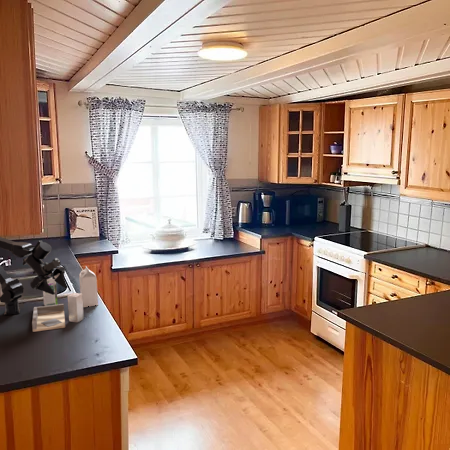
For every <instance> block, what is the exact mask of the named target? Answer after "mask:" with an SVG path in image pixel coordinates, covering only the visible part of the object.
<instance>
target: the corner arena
mask: <svg viewBox="0 0 450 450" xmlns="http://www.w3.org/2000/svg"><path fill="white" fill-rule="evenodd" d="M31 326H32V332H41V331H48V330H57V329H64V328H66V317H65V304H64V303H58V304H57V305H49V306H45V305H41V306H34V307H33V313H32V321H31Z"/></svg>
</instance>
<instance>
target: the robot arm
mask: <svg viewBox="0 0 450 450" xmlns="http://www.w3.org/2000/svg"><path fill="white" fill-rule="evenodd" d="M0 249H3V250H6V251H8V252H11V254H12V255H13V256H15V257H18V258H20V259H21V258H23V259H22V266H25V265H28V266H29V267H30V269H32V274H33V275H37V276H35V277H34V278H33V279H32V281H30V283H29V285H30V286H29V287H31V289H33V290H39V291H42V292H43V291H44V292H47V293H49V294H52V295H54V294H55V293H54V291H53V290H52V288H51V287H50V286H49V285H48V283H47V279H50V278H53V279H55V280H54V281H55V282H56V284H58V285H60V286H61V287H62V288H64V289H68V284H67V282H66V279H65V276H64V275H65V272H66V268H65V267H64V266H61V260H60V259H59V258H58V257H55V258H54V259H52V261H51V262H47V261H45V262H44V261H43V260H44V259H46V257H47V256H48V255H49V254H50V253H51V251H53V248H52V246H51V244H49V243H48V242H46V241H43V240H42V239H41V240H38V241H37V242H36V244H35V245H33V244H32V243H30V242H25V241H24V242H23V241H19V242H18V241H14V240H10V239H7V238H3V237H1V236H0ZM25 257H26V258H25ZM0 285H1V287H0V289H1V293H2V294H1V295H0V303H2V304H3V303H4V307H5V308H4V309H5V311H4V314H3V315H4V316H9V315H10V316H11V315H17V314H20V313H21V308H20V307H19V299H21V298H22V297H23V294H24V286H23V285H24V284H22V282H20V280H19V279H18V278H11V277H10V276H9V274H8V273H7V272H6V270H5V269H4V267H3V266H2V265H1V264H0Z"/></svg>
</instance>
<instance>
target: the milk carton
mask: <svg viewBox="0 0 450 450" xmlns="http://www.w3.org/2000/svg"><path fill="white" fill-rule="evenodd" d="M78 277H79V279H78V280H79V291H80V292H79V293H81V294H82V300H83V308H88V306H89V307H95V305H96V306H98V305H99V299H98V284H97V283H98V281H97V275H96V274H95V272H93V271H92V270H90V269H89V268H88V267H87V265H85V268H84V269H82V270H81V271H80V273H79V275H78Z"/></svg>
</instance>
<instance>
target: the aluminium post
mask: <svg viewBox="0 0 450 450" xmlns="http://www.w3.org/2000/svg"><path fill="white" fill-rule="evenodd" d="M67 307H68V308H67V309H68V321H69V322H72V323H80V322H81V321H83V320H84V319H85V318H84V317H85V316H84V307H83V300H82V294H81V293H80V292H73V293H70V294H69V295H67Z"/></svg>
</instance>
